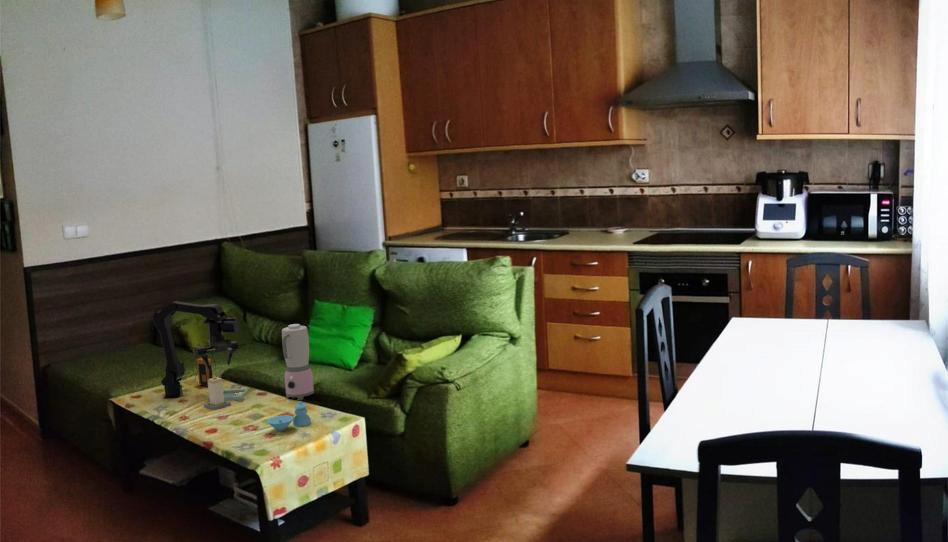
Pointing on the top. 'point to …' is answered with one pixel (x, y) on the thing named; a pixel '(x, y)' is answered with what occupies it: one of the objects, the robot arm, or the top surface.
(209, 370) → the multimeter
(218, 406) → the small gray square tray
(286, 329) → the blender
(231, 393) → the parts tray
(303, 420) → the blue small pieces
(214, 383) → the block
